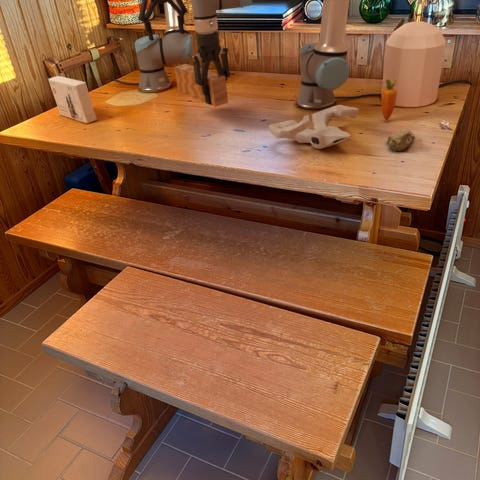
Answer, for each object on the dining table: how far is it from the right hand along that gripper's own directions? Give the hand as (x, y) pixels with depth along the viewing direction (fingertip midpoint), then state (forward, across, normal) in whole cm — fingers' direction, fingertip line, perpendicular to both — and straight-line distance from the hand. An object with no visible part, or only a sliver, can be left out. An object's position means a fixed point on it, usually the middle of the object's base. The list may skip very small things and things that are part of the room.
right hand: (215, 101), depth 165 cm
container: (+12, +72, -27) cm, 78 cm away
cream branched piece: (+11, +17, -37) cm, 42 cm away
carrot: (+12, +48, -37) cm, 62 cm away
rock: (+12, +35, -55) cm, 66 cm away
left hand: (-17, +2, +37) cm, 41 cm away
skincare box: (+10, -36, +57) cm, 68 cm away
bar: (+1, 0, +10) cm, 10 cm away
